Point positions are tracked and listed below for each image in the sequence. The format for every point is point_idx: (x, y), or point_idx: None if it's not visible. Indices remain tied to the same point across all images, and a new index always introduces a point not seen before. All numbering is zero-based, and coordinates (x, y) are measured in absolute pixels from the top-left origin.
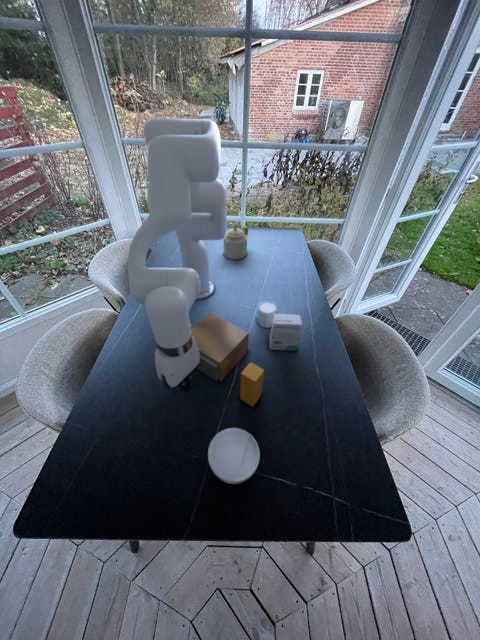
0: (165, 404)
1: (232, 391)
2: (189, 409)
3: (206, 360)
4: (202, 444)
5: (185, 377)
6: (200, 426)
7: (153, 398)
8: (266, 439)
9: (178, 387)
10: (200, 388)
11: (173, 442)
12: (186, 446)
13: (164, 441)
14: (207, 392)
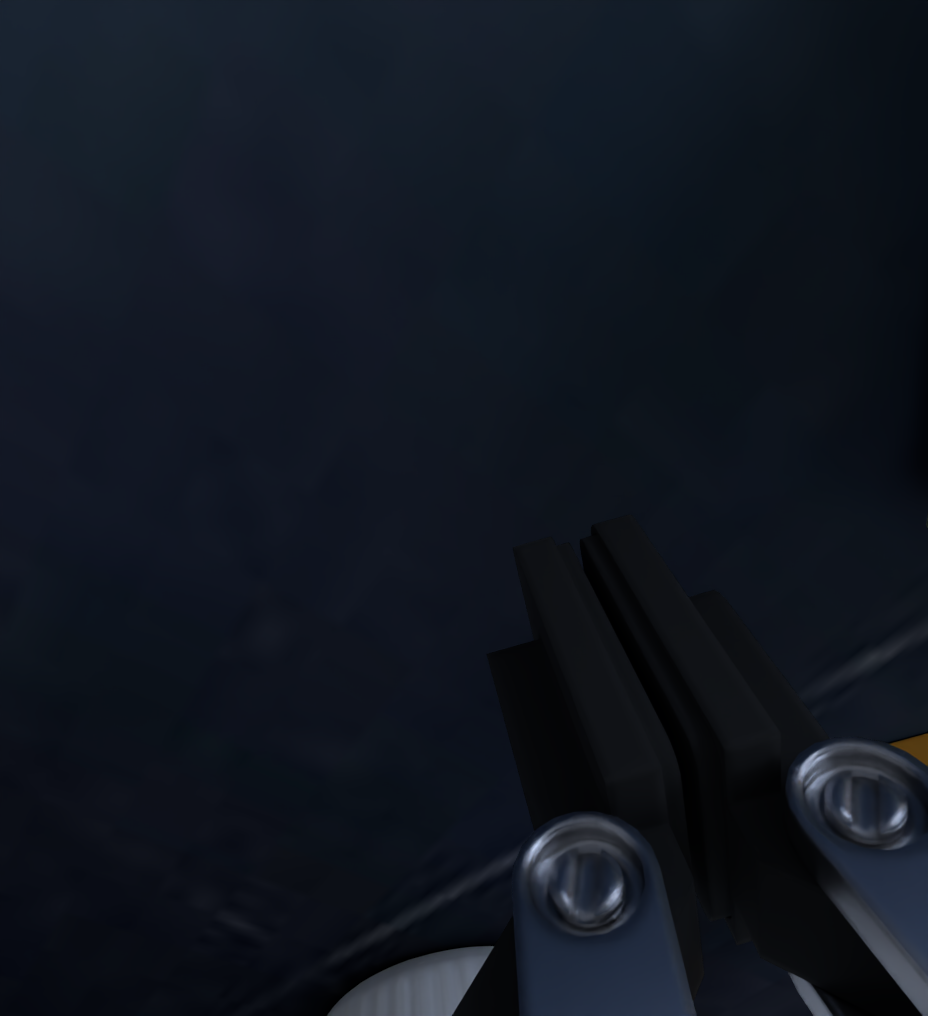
0: (202, 363)
1: (898, 664)
2: (435, 597)
3: None
4: (340, 886)
5: (776, 942)
6: (417, 779)
7: (50, 122)
8: (708, 999)
9: (492, 674)
10: (720, 445)
11: (108, 784)
12: (209, 851)
13: (19, 741)
14: (732, 538)
